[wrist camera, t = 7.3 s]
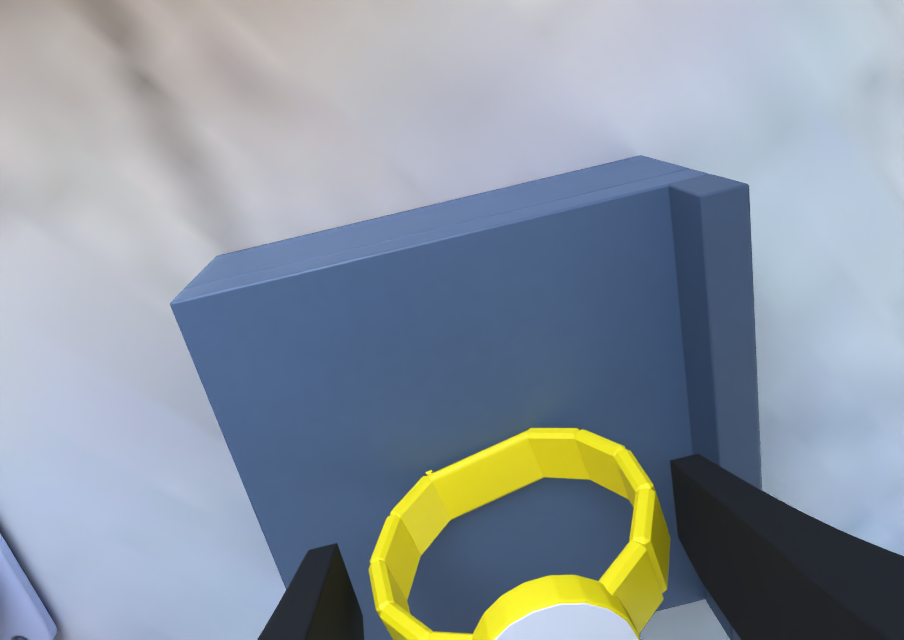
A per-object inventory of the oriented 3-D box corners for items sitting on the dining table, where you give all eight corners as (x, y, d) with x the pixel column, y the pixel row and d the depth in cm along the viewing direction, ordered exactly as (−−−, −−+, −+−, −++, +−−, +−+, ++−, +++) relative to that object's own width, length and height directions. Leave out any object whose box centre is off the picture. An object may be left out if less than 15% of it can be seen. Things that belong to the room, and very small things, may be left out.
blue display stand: (337, 588, 21) (323, 746, 16) (215, 256, 17) (142, 328, 12) (678, 504, 22) (769, 634, 16) (642, 154, 17) (749, 183, 12)
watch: (402, 551, 16) (411, 793, 11) (357, 468, 15) (342, 688, 10) (620, 466, 16) (745, 668, 10) (589, 375, 15) (709, 547, 9)
